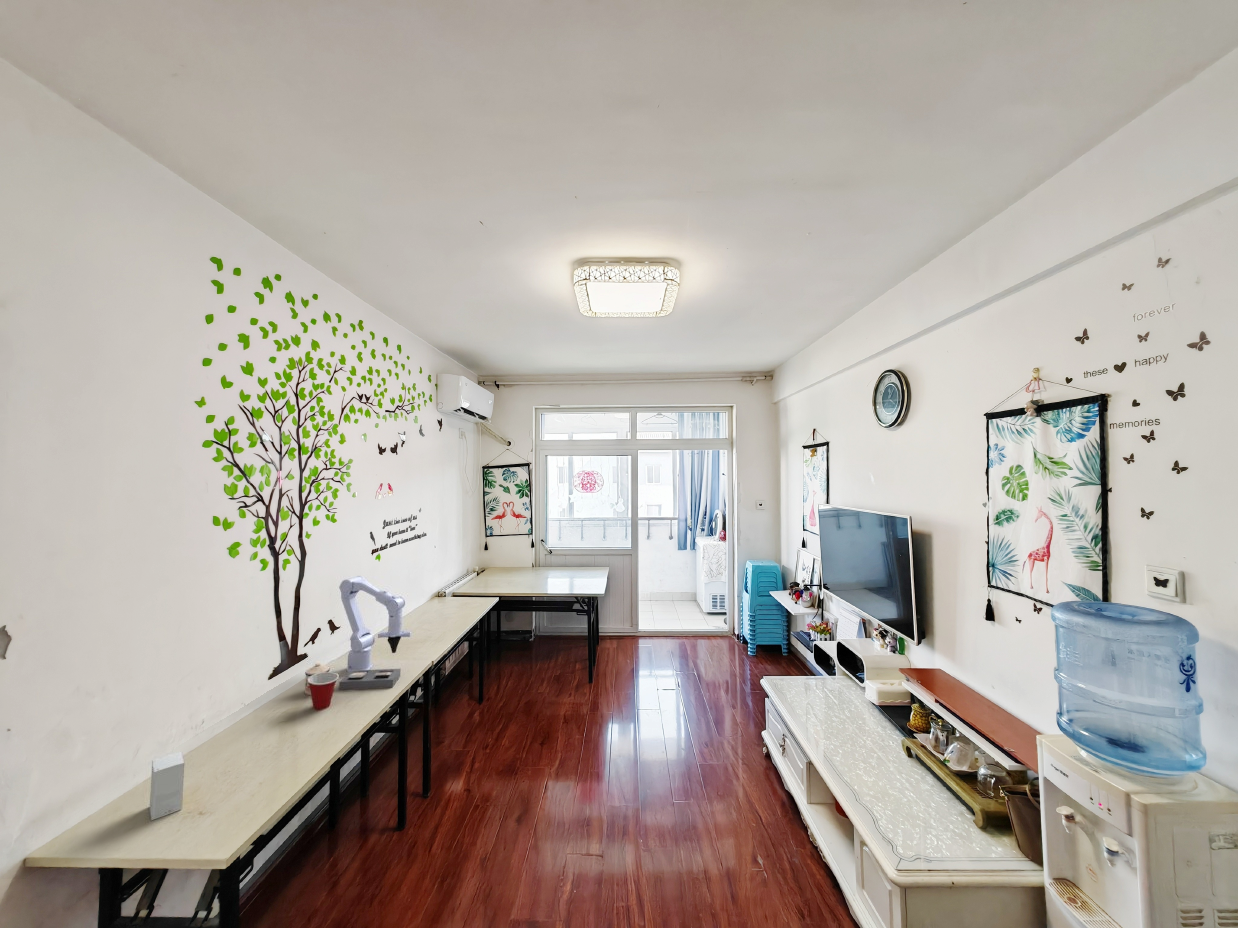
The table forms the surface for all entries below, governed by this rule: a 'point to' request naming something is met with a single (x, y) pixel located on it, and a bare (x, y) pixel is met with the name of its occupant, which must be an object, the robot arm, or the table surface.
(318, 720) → the table surface
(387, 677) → the grey flat block
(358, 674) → the rocker left
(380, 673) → the rocker right
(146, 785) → the table surface
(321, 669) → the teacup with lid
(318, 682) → the plastic cup
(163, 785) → the small box
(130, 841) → the table surface
